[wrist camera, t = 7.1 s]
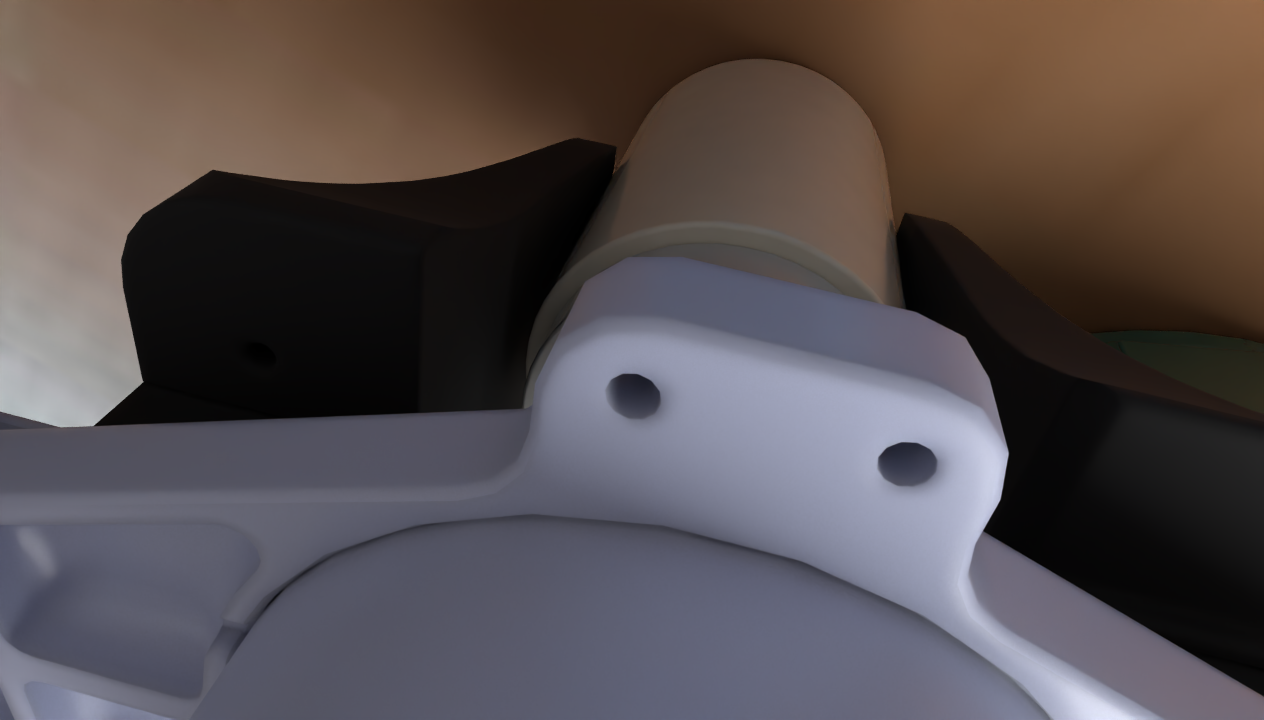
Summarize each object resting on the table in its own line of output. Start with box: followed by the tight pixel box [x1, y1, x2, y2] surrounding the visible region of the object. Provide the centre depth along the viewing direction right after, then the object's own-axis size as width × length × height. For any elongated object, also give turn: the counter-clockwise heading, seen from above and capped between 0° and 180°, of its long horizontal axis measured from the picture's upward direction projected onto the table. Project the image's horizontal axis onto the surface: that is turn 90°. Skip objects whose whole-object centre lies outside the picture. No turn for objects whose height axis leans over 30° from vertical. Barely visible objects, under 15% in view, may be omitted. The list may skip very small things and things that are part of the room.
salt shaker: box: [522, 59, 906, 409], centre depth 12 cm, size 4×4×7 cm
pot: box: [1090, 330, 1264, 414], centre depth 16 cm, size 13×13×6 cm
